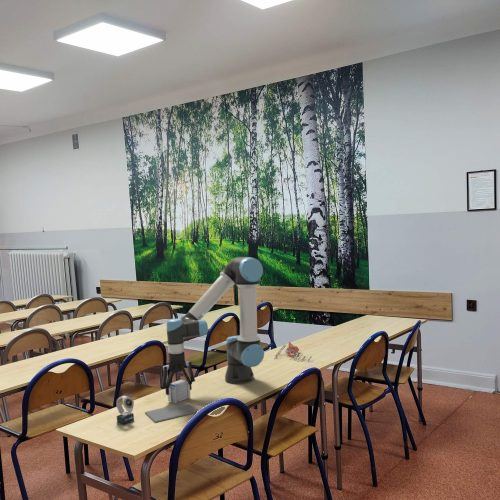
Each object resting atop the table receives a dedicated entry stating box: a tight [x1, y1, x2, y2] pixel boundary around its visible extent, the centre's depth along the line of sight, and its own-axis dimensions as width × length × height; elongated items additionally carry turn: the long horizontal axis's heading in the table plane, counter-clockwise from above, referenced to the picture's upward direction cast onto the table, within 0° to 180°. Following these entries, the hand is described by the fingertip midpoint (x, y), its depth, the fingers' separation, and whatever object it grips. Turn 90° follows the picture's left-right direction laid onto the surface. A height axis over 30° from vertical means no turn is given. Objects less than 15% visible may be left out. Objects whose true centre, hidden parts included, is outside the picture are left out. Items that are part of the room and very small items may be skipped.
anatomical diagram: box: [275, 341, 313, 362], centre depth 315 cm, size 21×9×25 cm
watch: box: [116, 395, 135, 426], centre depth 224 cm, size 6×8×11 cm
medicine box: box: [169, 379, 189, 404], centre depth 249 cm, size 8×4×9 cm, turn 141°
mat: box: [144, 402, 199, 423], centre depth 232 cm, size 20×14×1 cm
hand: (179, 399), depth 249 cm, fingers closed on medicine box, 9 cm apart
